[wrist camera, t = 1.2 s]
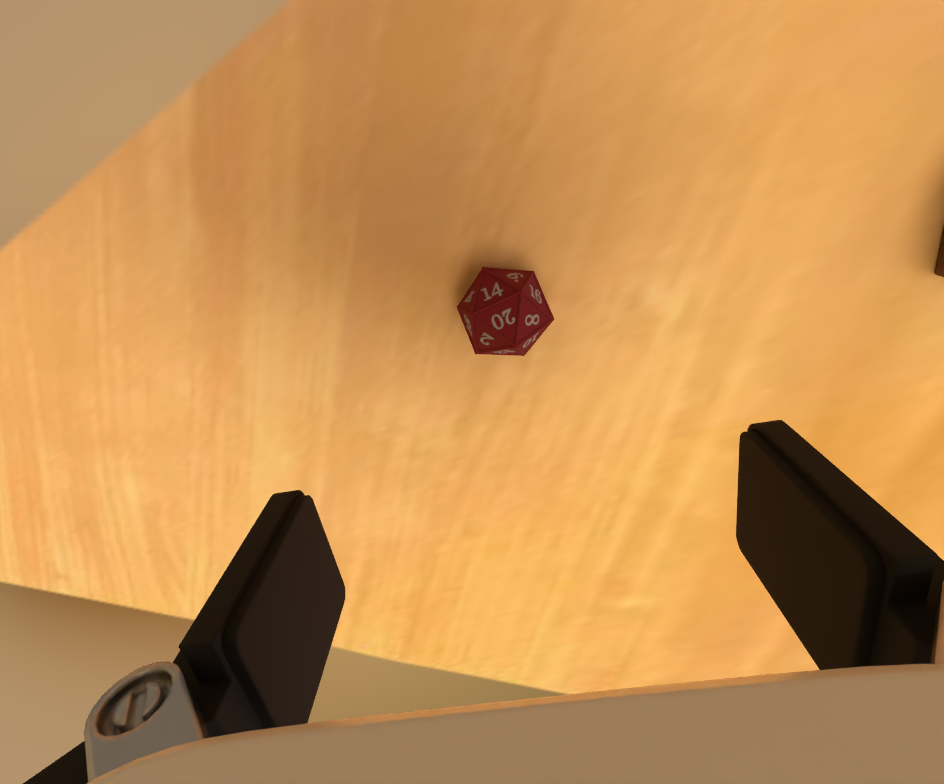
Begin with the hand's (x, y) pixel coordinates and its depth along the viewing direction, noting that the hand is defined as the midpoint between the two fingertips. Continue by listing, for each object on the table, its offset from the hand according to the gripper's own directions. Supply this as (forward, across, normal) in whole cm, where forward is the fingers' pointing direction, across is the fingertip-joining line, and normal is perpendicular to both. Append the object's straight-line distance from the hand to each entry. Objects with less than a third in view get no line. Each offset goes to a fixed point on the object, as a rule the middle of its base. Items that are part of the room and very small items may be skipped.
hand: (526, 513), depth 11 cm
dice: (+15, 0, -1) cm, 15 cm away
